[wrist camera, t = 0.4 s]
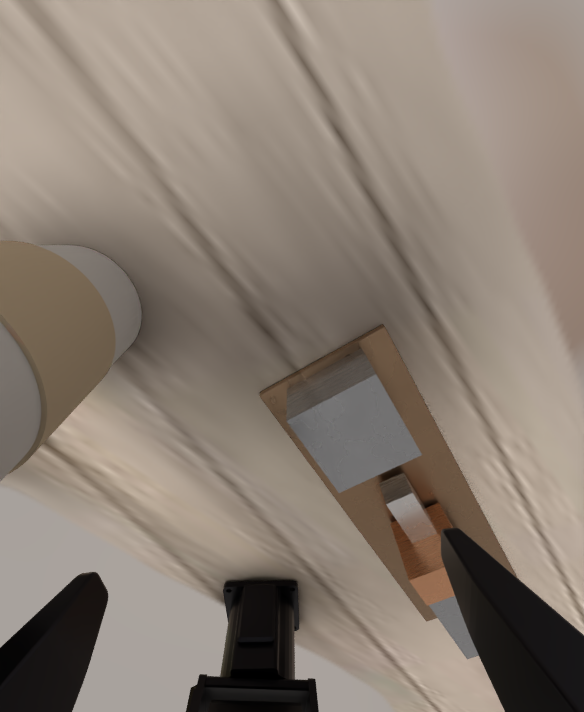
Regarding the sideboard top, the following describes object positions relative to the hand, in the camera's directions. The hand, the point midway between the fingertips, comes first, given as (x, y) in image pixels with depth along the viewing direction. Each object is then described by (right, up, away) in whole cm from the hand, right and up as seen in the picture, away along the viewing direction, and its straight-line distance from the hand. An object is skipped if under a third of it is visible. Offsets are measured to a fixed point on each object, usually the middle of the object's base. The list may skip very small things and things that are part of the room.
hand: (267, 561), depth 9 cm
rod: (+12, -10, +18) cm, 23 cm away
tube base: (+10, -6, +17) cm, 21 cm away
